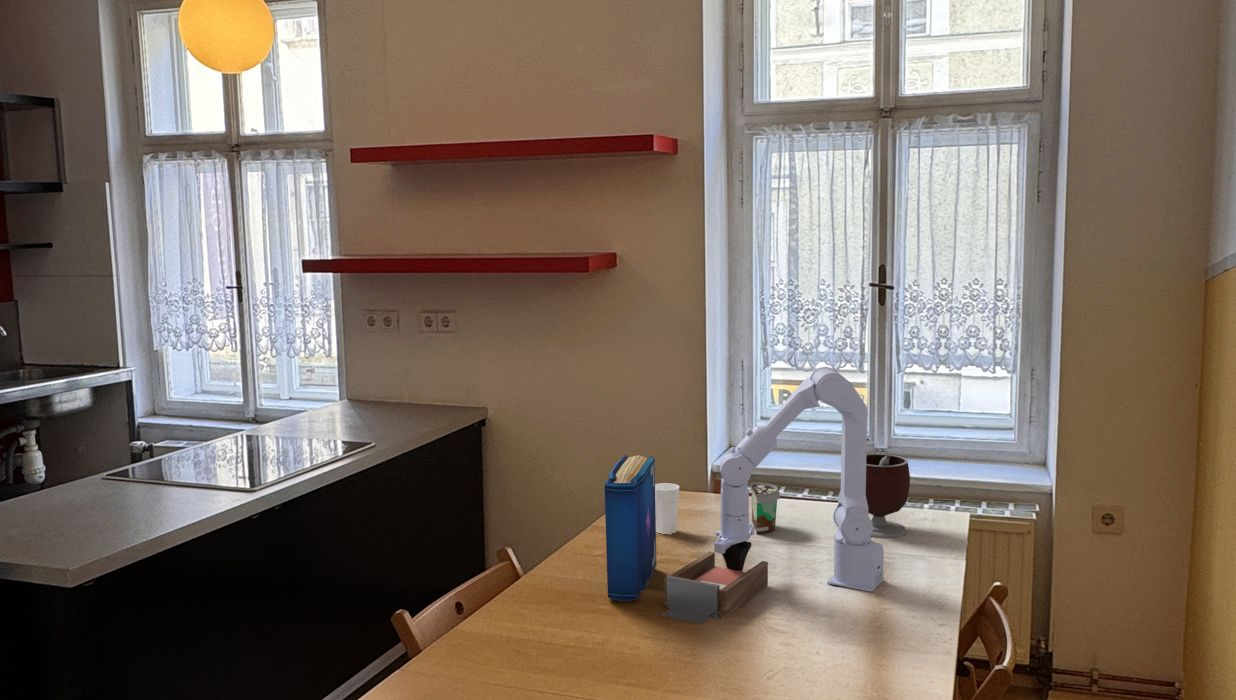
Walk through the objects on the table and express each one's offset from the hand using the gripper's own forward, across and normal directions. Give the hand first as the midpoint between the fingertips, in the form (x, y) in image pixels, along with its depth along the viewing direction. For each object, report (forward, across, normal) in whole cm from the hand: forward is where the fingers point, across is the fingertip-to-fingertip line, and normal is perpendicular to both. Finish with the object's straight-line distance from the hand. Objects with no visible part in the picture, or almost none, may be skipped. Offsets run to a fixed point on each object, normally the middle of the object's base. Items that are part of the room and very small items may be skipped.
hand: (735, 577), depth 203 cm
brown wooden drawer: (+1, +8, 0) cm, 8 cm away
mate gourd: (+1, -48, +14) cm, 50 cm away
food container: (+1, -37, -10) cm, 38 cm away
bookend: (+1, +20, 0) cm, 20 cm away
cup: (+1, -23, -30) cm, 37 cm away
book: (+1, +12, -18) cm, 21 cm away
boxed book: (+1, +8, +1) cm, 8 cm away
